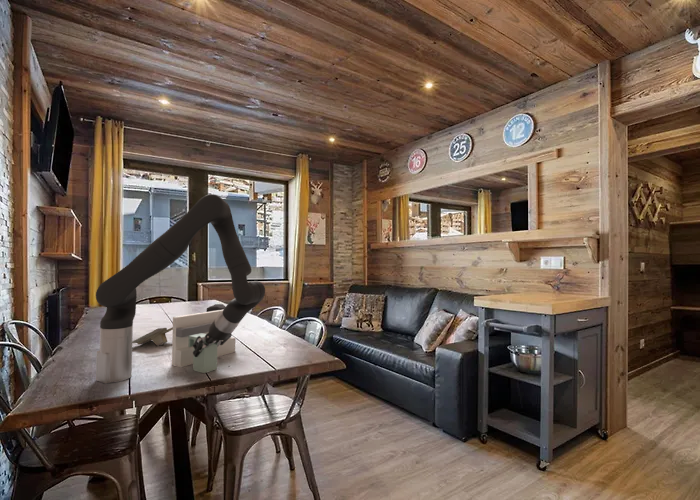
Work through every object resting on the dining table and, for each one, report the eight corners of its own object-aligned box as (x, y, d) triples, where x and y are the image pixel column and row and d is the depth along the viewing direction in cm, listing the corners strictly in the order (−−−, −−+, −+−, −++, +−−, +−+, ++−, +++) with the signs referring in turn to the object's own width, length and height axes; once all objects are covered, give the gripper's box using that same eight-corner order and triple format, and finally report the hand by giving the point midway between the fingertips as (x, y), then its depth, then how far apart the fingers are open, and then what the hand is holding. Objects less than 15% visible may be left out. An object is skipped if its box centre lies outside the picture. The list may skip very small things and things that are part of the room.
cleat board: (181, 367, 134) (182, 318, 135) (171, 365, 137) (172, 317, 137) (235, 351, 157) (236, 309, 157) (226, 350, 160) (227, 308, 160)
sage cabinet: (204, 373, 128) (204, 338, 128) (187, 368, 133) (188, 335, 133) (216, 369, 133) (217, 336, 133) (200, 365, 137) (201, 333, 138)
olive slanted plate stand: (136, 360, 157) (163, 337, 157) (125, 343, 158) (152, 321, 159) (159, 355, 173) (184, 335, 173) (150, 341, 175) (174, 320, 175)
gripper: (235, 312, 135) (213, 341, 141) (202, 318, 122) (179, 349, 128) (246, 328, 132) (222, 357, 138) (213, 336, 120) (189, 366, 125)
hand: (202, 353), depth 133 cm, fingers closed on sage cabinet, 5 cm apart
